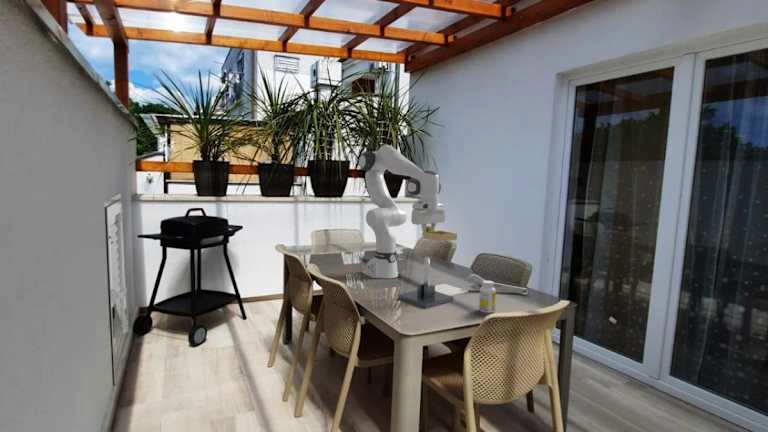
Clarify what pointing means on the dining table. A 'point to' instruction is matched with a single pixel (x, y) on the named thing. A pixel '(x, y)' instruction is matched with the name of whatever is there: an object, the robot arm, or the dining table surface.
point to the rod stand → (426, 292)
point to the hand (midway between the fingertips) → (428, 232)
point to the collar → (439, 235)
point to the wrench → (495, 285)
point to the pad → (449, 290)
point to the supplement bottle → (487, 297)
